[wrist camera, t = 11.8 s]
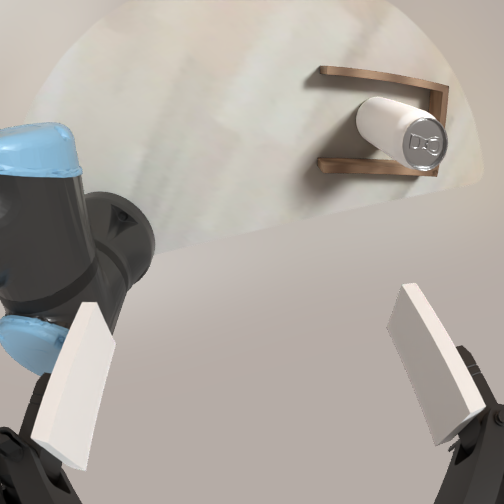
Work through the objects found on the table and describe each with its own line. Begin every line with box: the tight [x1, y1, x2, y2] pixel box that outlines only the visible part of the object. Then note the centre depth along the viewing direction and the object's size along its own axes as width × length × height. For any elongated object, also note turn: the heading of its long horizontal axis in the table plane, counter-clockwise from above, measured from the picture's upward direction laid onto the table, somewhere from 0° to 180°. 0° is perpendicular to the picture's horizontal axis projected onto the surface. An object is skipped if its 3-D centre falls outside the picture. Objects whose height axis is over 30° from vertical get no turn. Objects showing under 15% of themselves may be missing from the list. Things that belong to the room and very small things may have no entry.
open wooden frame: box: [317, 66, 449, 177], centre depth 34 cm, size 17×13×3 cm
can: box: [356, 97, 448, 171], centre depth 30 cm, size 6×6×12 cm
